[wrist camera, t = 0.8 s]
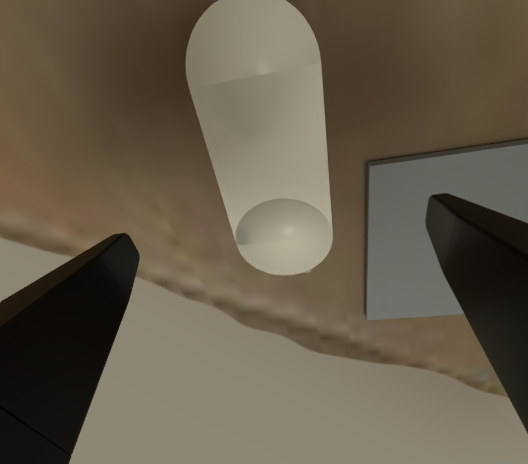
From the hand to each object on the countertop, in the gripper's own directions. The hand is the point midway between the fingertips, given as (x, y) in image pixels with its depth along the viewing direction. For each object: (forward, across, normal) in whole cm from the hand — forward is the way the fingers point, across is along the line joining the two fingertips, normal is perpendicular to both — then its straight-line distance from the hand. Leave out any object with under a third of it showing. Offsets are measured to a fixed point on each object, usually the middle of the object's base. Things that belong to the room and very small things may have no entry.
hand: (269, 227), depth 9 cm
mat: (+10, -12, +10) cm, 18 cm away
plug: (+10, 0, +1) cm, 10 cm away
